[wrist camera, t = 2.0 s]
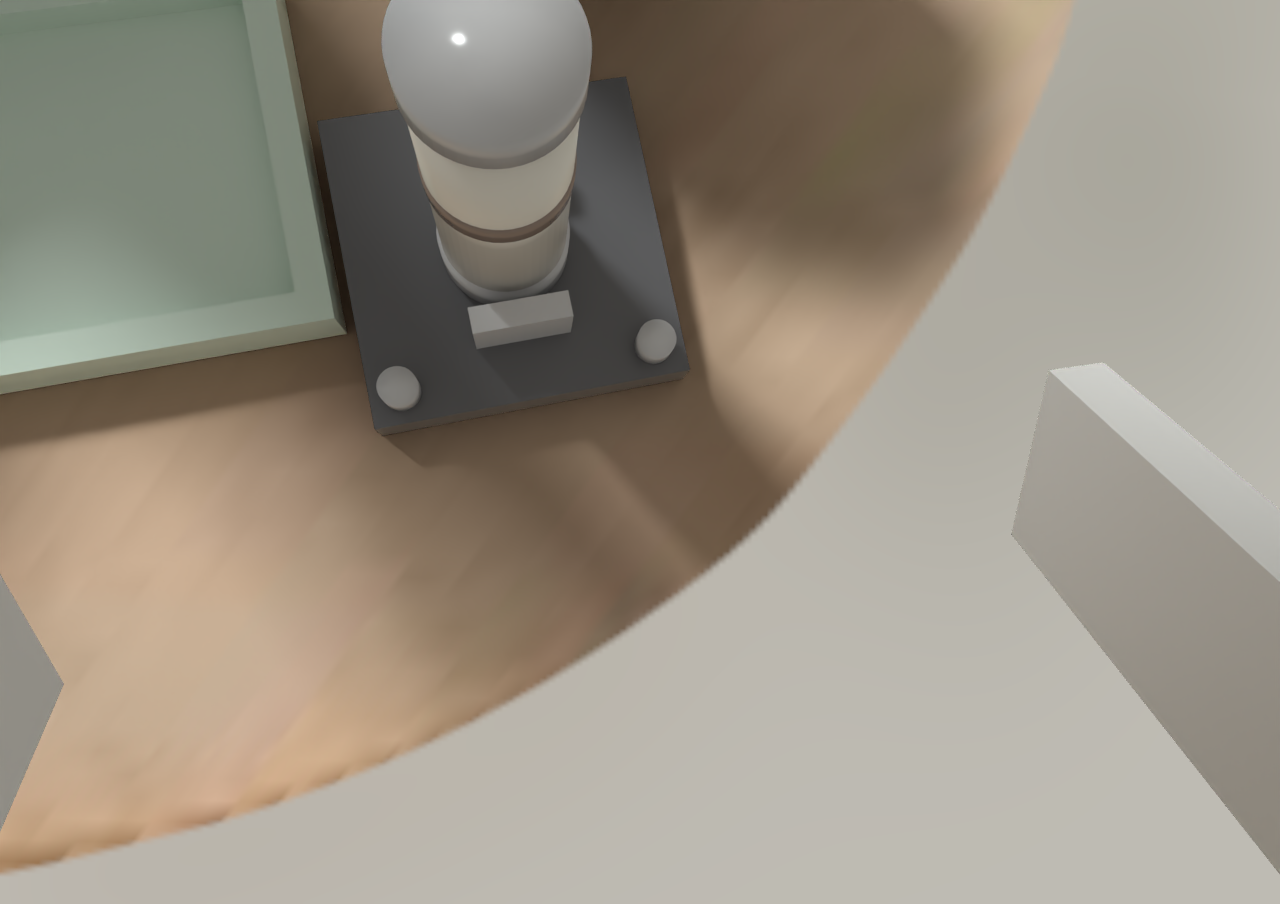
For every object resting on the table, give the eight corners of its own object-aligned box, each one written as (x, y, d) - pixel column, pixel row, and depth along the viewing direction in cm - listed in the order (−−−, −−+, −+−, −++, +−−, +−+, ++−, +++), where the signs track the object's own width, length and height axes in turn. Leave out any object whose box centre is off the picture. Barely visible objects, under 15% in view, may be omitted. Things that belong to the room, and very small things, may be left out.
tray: (-49, 402, 29) (-92, 391, 27) (-103, 37, 30) (-148, 0, 28) (347, 333, 31) (334, 318, 29) (283, -12, 32) (266, -49, 30)
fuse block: (382, 435, 30) (363, 420, 27) (327, 142, 31) (301, 89, 28) (682, 378, 32) (700, 356, 28) (621, 98, 33) (632, 43, 29)
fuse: (453, 318, 30) (402, 158, 18) (429, 196, 30) (364, -41, 18) (579, 296, 30) (610, 126, 18) (554, 177, 30) (569, -66, 19)
